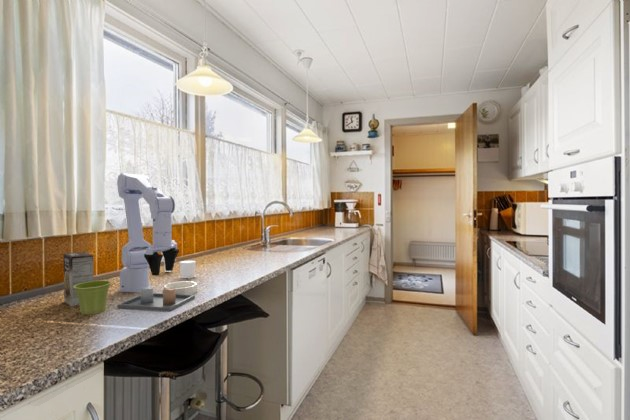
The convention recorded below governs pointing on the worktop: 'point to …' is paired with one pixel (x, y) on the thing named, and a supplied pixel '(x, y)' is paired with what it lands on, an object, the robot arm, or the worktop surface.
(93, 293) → the plant pot
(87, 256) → the coffee box
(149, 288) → the grey rounded cylinder
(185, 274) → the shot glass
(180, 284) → the bowl
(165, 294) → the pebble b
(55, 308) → the worktop surface
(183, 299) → the tray
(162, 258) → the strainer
